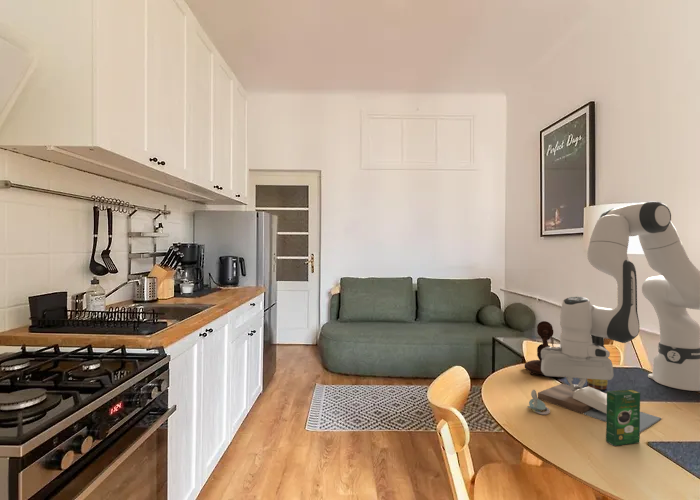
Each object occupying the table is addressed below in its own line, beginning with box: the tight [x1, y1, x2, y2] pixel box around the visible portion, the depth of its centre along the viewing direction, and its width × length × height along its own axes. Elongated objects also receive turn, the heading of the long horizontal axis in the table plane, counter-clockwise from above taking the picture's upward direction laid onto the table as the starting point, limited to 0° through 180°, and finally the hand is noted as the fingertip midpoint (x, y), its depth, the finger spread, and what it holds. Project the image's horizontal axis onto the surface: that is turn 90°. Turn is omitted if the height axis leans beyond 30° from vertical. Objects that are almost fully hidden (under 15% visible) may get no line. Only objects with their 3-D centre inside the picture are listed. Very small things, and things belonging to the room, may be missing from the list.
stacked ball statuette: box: [524, 320, 561, 379], centre depth 152 cm, size 15×15×20 cm
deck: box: [537, 383, 593, 415], centre depth 124 cm, size 15×14×2 cm
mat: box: [583, 408, 662, 433], centre depth 112 cm, size 15×14×1 cm
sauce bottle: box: [586, 335, 609, 391], centre depth 136 cm, size 7×6×20 cm
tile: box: [573, 385, 607, 414], centre depth 117 cm, size 8×10×2 cm
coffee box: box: [605, 388, 641, 447], centre depth 98 cm, size 8×3×13 cm, turn 103°
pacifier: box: [527, 389, 551, 416], centre depth 117 cm, size 7×6×6 cm
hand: (576, 390), depth 123 cm, fingers closed
